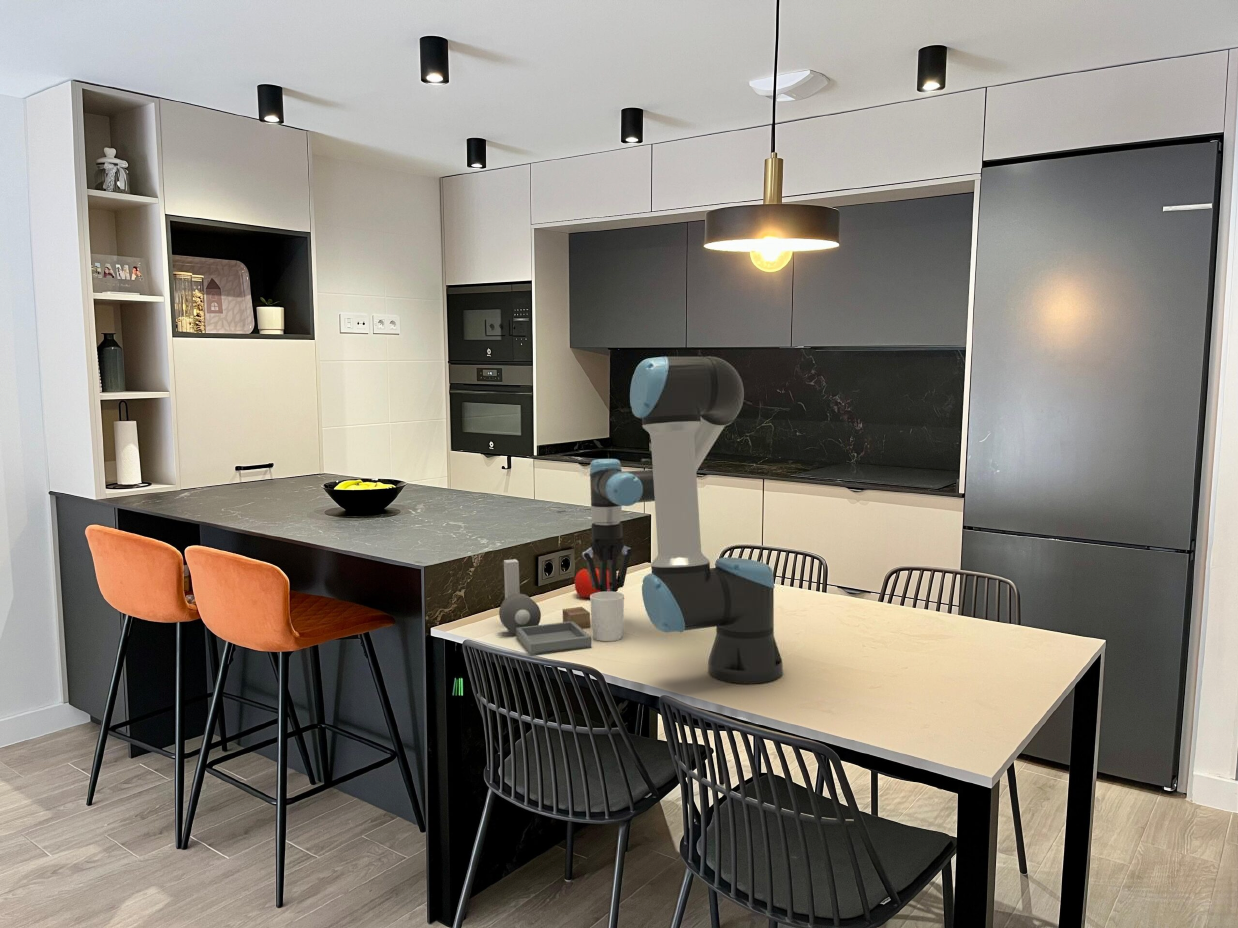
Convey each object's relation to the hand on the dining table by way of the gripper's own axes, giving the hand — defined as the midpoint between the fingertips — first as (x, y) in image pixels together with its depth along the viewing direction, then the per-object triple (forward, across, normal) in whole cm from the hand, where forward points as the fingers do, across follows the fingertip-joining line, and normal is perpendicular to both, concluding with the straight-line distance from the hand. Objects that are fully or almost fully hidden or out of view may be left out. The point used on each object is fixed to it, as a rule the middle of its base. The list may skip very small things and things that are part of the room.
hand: (608, 616), depth 224 cm
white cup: (+2, +4, +12) cm, 13 cm away
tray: (+1, +17, +11) cm, 21 cm away
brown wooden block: (+2, +8, 0) cm, 9 cm away
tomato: (+2, -4, -26) cm, 26 cm away
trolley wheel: (+1, +22, -3) cm, 23 cm away
